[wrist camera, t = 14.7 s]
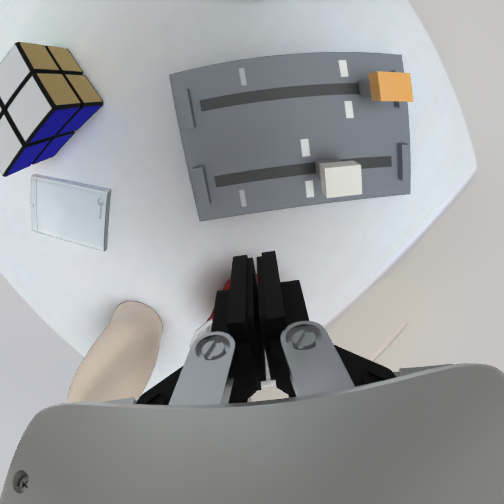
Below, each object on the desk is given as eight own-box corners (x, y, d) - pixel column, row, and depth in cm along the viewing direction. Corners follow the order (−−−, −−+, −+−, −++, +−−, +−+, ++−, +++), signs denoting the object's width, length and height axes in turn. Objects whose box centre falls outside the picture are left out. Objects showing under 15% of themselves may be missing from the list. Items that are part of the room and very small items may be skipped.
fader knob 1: (310, 156, 28) (324, 168, 23) (340, 153, 28) (360, 164, 23) (313, 180, 30) (326, 198, 24) (342, 177, 29) (362, 194, 24)
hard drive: (107, 191, 31) (30, 176, 29) (103, 252, 35) (31, 232, 33) (113, 187, 33) (37, 172, 31) (108, 247, 36) (37, 227, 34)
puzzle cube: (53, 157, 30) (2, 179, 21) (20, 103, 26) (-33, 113, 17) (105, 103, 27) (55, 107, 18) (67, 47, 23) (15, 39, 14)
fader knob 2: (353, 76, 24) (377, 71, 19) (382, 76, 24) (409, 73, 19) (356, 100, 26) (380, 101, 20) (384, 100, 25) (412, 101, 20)
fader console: (174, 76, 26) (166, 73, 24) (393, 57, 25) (406, 53, 22) (202, 214, 34) (198, 225, 31) (402, 189, 32) (414, 197, 29)
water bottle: (141, 281, 38) (56, 479, 13) (185, 325, 41) (145, 518, 17) (100, 312, 41) (23, 473, 16) (140, 349, 44) (93, 510, 19)
